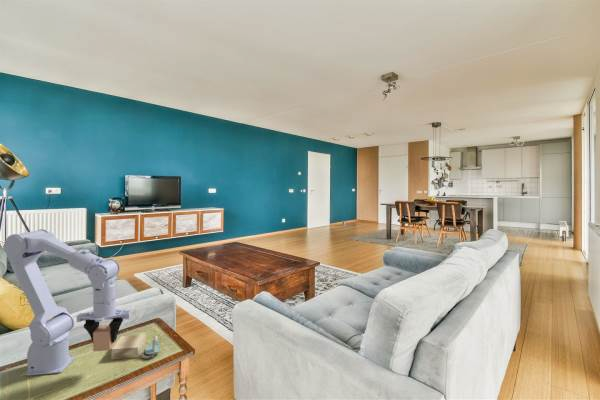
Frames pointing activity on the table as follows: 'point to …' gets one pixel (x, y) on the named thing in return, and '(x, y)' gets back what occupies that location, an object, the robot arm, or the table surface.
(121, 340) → the birch block
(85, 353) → the table surface
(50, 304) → the robot arm
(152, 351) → the pacifier
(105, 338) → the terracotta block
